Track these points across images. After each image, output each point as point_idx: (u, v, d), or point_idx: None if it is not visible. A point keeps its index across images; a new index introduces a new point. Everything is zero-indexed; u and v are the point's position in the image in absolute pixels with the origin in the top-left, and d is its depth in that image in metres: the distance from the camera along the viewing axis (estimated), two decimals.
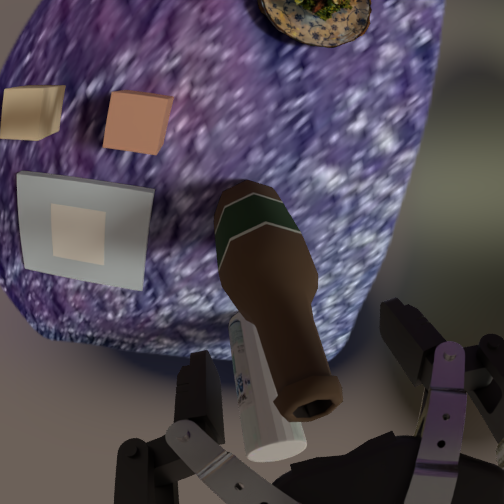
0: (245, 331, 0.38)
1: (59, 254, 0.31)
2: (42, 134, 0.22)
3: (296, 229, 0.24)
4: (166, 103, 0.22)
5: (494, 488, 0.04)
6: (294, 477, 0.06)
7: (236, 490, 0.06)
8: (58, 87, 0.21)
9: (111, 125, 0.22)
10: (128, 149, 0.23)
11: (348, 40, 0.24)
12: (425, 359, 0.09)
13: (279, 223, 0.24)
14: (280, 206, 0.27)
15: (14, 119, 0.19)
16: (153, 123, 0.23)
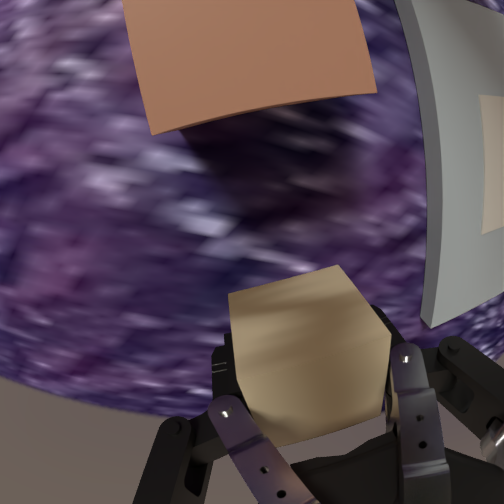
0: None
1: None
2: (368, 321, 0.09)
3: None
4: None
5: (493, 486, 0.04)
6: None
7: (260, 473, 0.06)
8: (233, 317, 0.11)
9: (286, 78, 0.05)
10: None
11: None
12: None
13: None
14: None
15: (337, 408, 0.10)
16: None
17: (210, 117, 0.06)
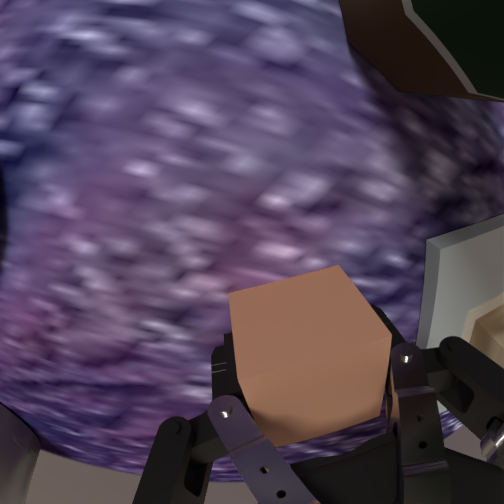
0: None
1: None
2: None
3: None
4: (250, 377, 0.09)
5: (493, 486, 0.04)
6: None
7: (260, 473, 0.06)
8: (493, 335, 0.13)
9: (335, 425, 0.10)
10: (382, 384, 0.10)
11: None
12: None
13: None
14: None
15: None
16: (313, 377, 0.09)
17: (296, 442, 0.11)
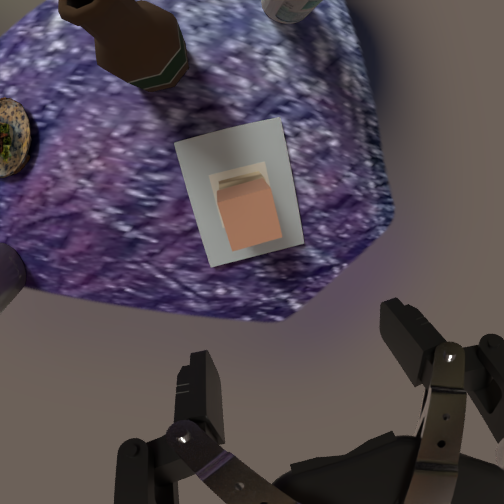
0: (275, 7, 0.25)
1: None
2: (260, 177, 0.32)
3: None
4: (221, 202, 0.27)
5: (494, 488, 0.04)
6: (294, 477, 0.06)
7: (236, 490, 0.06)
8: (219, 183, 0.34)
9: (260, 238, 0.29)
10: (275, 214, 0.28)
11: (12, 100, 0.27)
12: (425, 359, 0.09)
13: None
14: None
15: None
16: (243, 204, 0.27)
17: (244, 247, 0.29)
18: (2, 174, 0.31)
